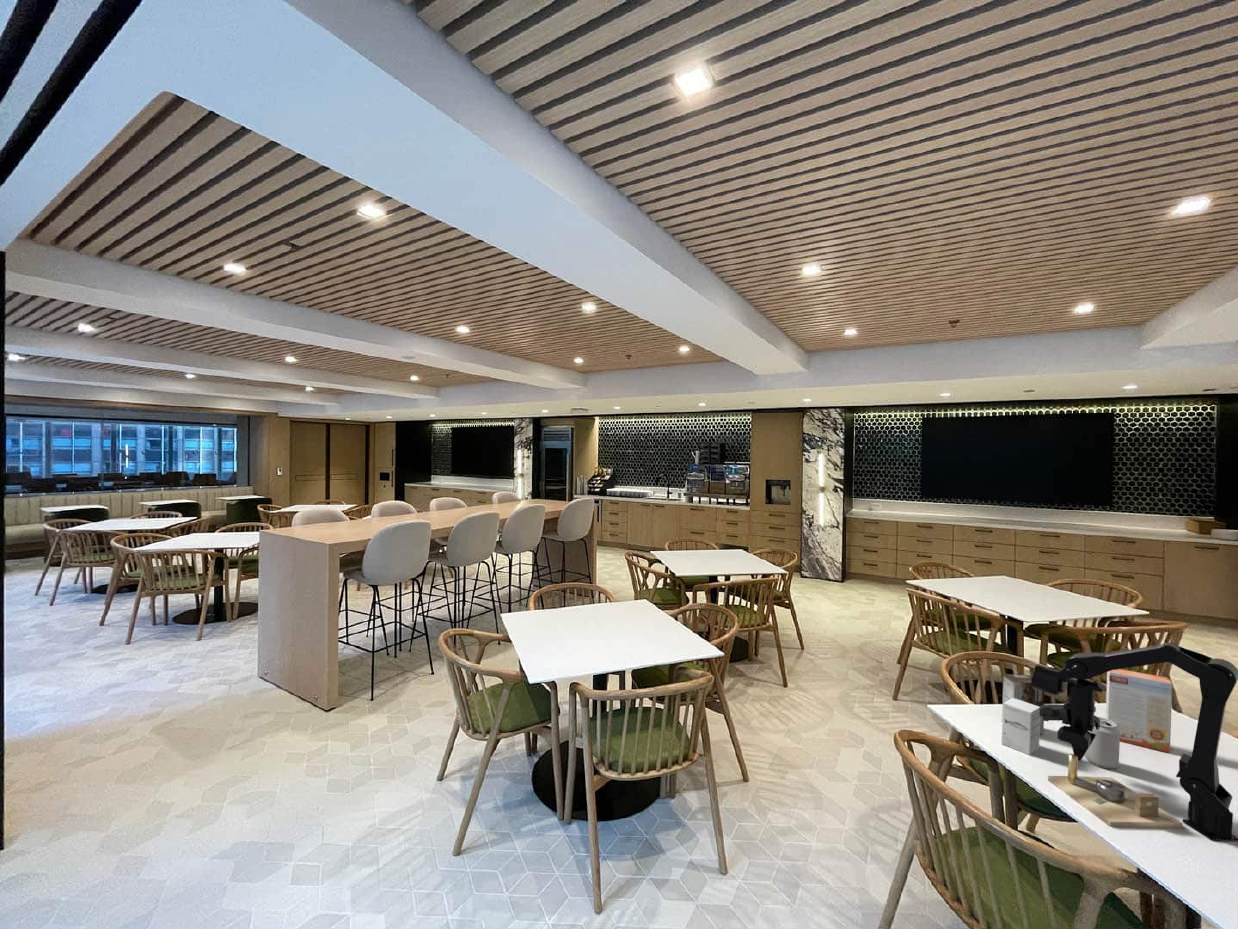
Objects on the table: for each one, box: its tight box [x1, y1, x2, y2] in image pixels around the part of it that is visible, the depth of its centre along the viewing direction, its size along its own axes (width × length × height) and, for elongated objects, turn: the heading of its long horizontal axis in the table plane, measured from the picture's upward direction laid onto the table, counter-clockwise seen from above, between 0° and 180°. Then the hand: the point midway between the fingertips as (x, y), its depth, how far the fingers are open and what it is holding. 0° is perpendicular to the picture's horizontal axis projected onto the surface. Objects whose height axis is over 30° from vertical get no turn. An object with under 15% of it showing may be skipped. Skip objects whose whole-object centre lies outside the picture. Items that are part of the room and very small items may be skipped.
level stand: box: [1047, 775, 1183, 829], centre depth 135 cm, size 18×17×6 cm
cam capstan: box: [1067, 753, 1125, 803], centre depth 137 cm, size 11×5×7 cm, turn 41°
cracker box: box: [1105, 669, 1173, 754], centre depth 166 cm, size 14×6×21 cm, turn 53°
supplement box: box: [1000, 698, 1041, 756], centre depth 161 cm, size 7×7×13 cm
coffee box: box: [1001, 673, 1045, 735], centre depth 172 cm, size 9×6×16 cm
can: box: [1083, 716, 1121, 770], centre depth 153 cm, size 8×8×12 cm
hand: (1078, 760), depth 145 cm, fingers closed
